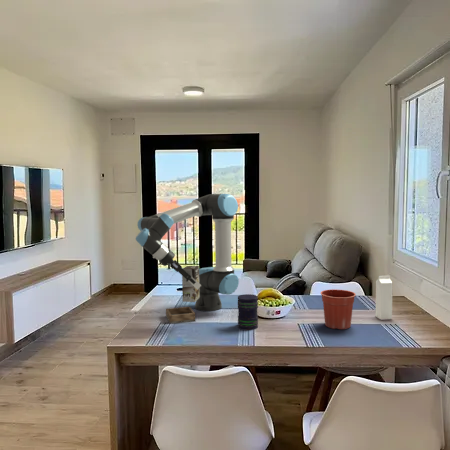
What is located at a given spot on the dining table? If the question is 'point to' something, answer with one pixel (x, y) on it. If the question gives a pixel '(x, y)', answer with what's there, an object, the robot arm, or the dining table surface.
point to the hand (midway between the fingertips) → (196, 284)
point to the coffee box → (190, 285)
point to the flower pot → (338, 308)
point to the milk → (384, 298)
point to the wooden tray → (180, 315)
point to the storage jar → (247, 312)
